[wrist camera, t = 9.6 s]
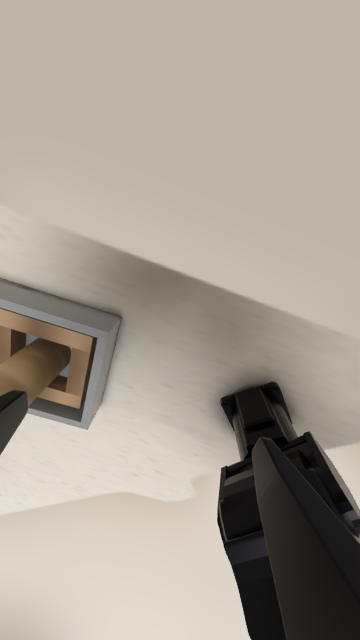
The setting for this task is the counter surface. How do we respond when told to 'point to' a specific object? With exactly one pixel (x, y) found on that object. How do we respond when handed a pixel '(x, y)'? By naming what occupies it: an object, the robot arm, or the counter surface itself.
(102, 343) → the tray
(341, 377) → the counter surface
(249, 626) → the robot arm
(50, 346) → the dowel
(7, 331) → the socket block
